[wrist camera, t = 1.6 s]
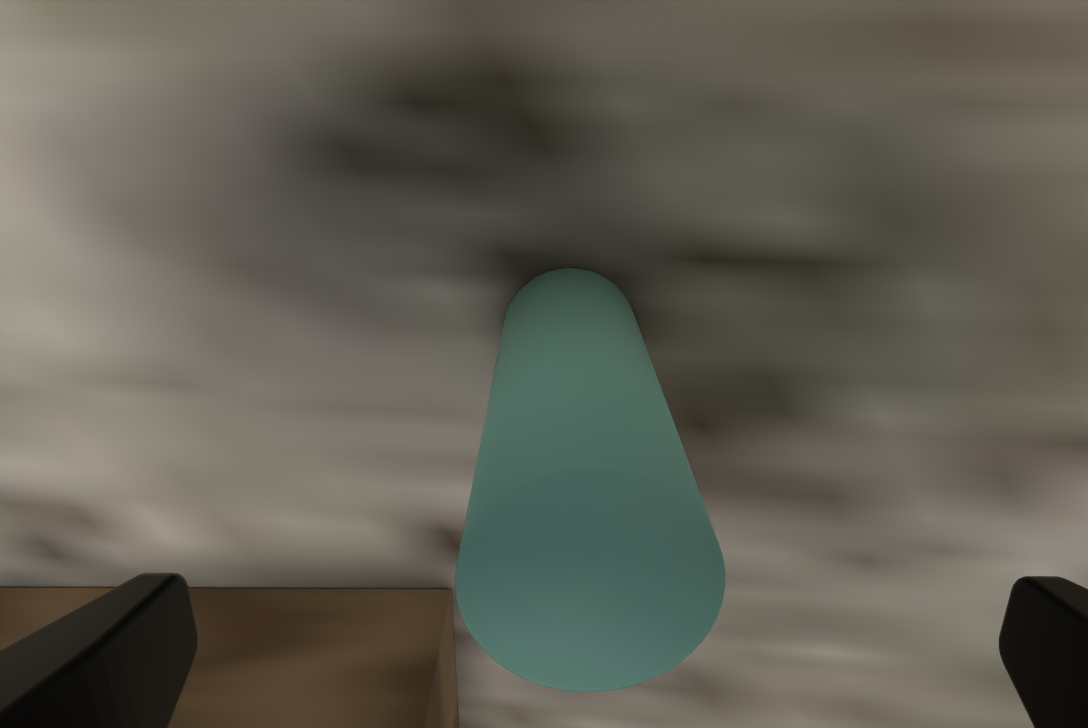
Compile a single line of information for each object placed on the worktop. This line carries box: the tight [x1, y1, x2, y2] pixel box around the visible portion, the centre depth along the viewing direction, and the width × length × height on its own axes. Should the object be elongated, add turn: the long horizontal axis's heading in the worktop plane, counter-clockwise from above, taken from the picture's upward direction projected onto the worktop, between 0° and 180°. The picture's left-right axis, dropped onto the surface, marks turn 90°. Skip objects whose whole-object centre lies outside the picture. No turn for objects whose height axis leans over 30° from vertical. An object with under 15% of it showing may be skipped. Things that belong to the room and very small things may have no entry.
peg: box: [455, 268, 725, 692], centre depth 12 cm, size 3×3×9 cm
